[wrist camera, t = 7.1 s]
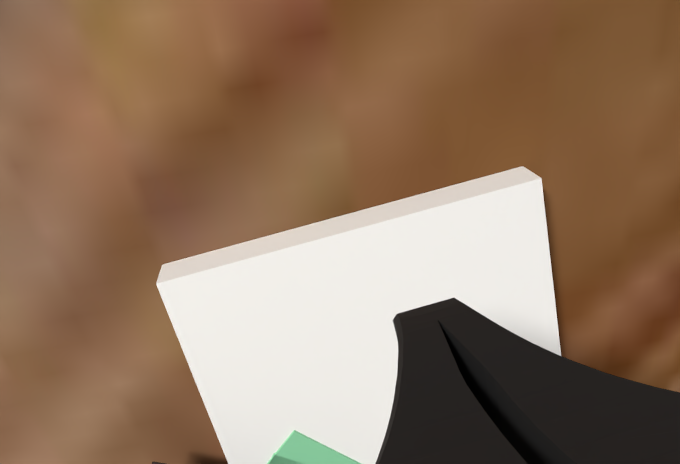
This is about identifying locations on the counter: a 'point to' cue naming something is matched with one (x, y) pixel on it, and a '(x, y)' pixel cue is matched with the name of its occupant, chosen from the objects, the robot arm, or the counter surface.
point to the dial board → (351, 312)
